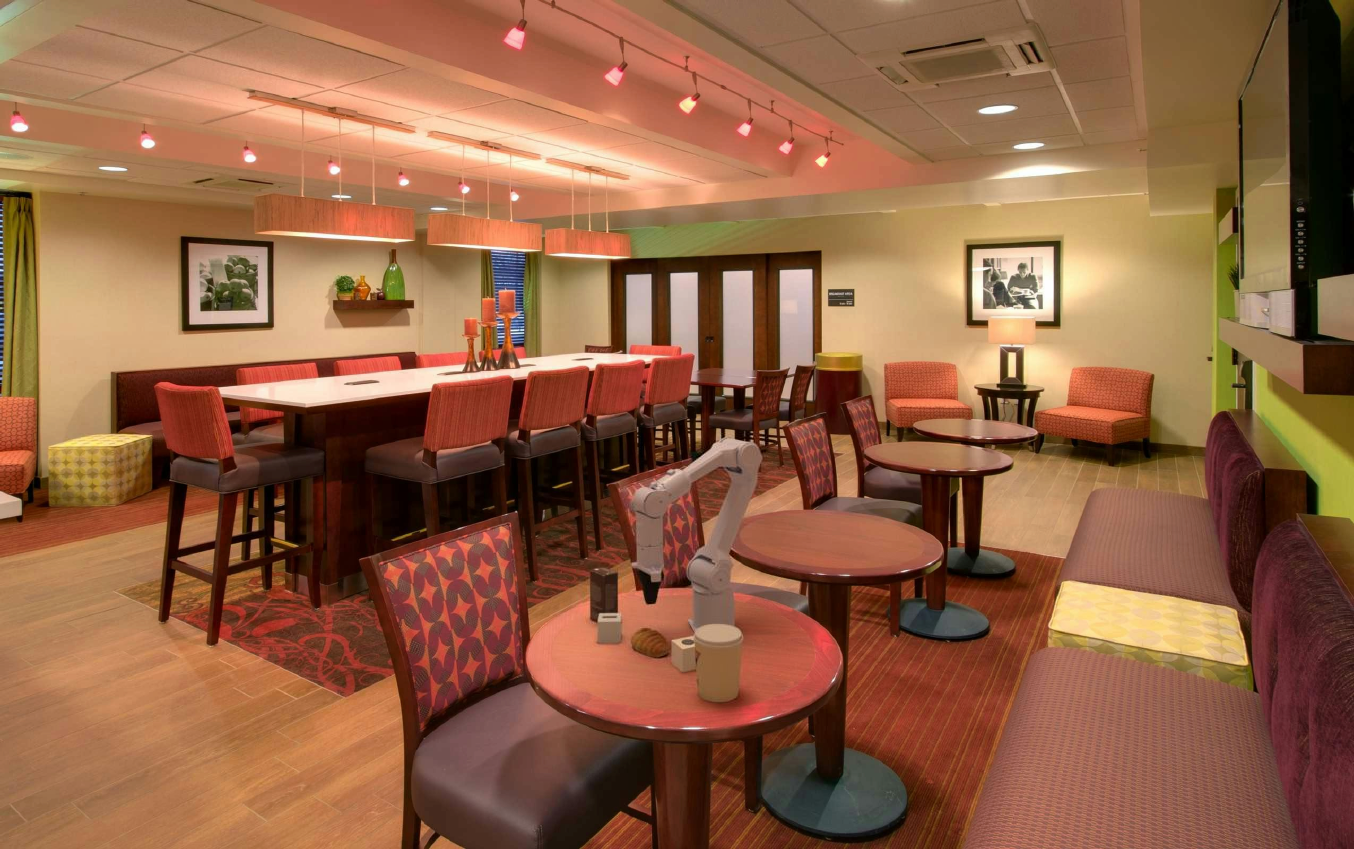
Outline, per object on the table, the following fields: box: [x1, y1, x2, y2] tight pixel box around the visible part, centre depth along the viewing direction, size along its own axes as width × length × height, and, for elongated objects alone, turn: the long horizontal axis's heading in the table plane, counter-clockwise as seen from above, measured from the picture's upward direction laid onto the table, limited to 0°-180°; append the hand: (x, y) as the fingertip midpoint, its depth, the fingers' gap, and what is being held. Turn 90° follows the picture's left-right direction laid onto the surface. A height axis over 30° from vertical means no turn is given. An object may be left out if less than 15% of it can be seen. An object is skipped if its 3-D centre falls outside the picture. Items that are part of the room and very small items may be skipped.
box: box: [589, 566, 619, 623], centre depth 188 cm, size 6×4×12 cm
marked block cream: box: [671, 635, 696, 673], centre depth 164 cm, size 5×5×5 cm
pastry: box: [630, 627, 671, 658], centre depth 171 cm, size 9×7×4 cm
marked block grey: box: [597, 612, 623, 644], centre depth 177 cm, size 5×5×5 cm
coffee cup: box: [693, 624, 744, 703], centre depth 151 cm, size 9×9×12 cm
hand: (650, 603), depth 175 cm, fingers closed
